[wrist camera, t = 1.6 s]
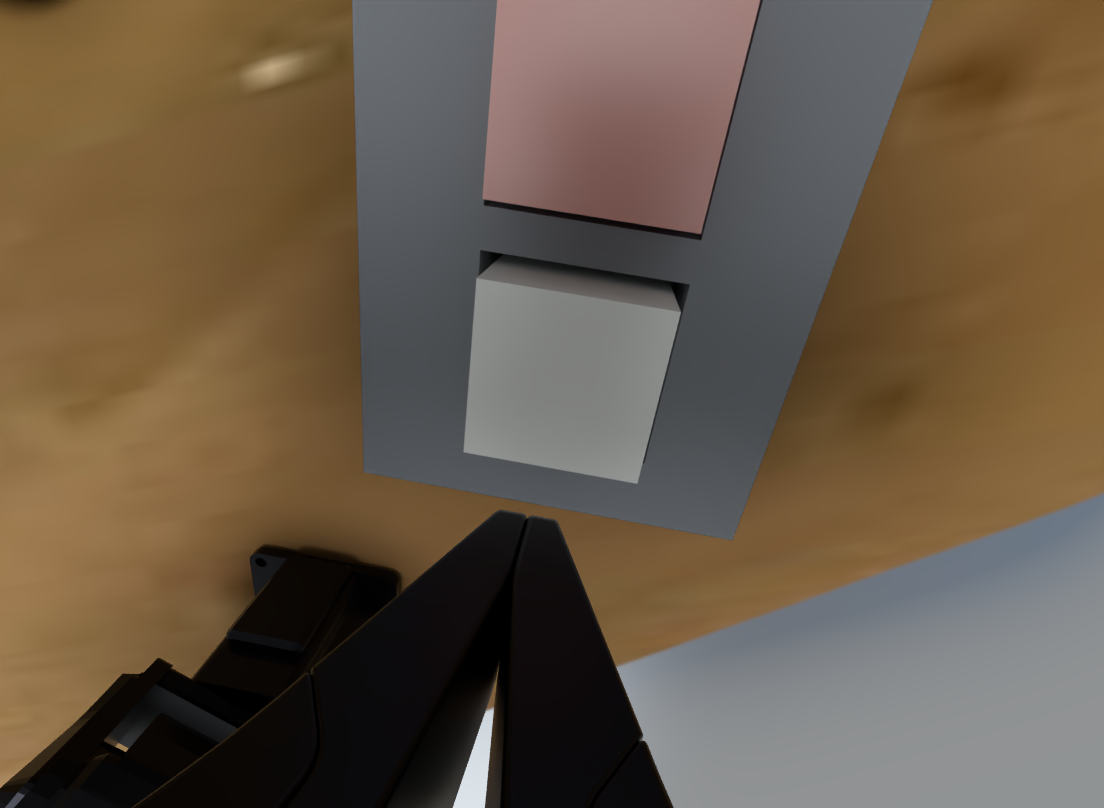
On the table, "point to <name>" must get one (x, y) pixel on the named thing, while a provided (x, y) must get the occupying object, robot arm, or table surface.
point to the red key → (614, 105)
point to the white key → (567, 365)
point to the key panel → (611, 248)
